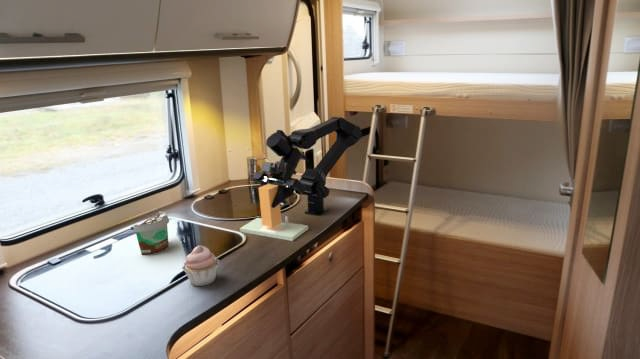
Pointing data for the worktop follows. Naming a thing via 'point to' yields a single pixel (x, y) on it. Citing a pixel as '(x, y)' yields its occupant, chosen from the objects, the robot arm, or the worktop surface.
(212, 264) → the cupcake
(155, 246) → the food container
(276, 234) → the board
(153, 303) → the worktop surface
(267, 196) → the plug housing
